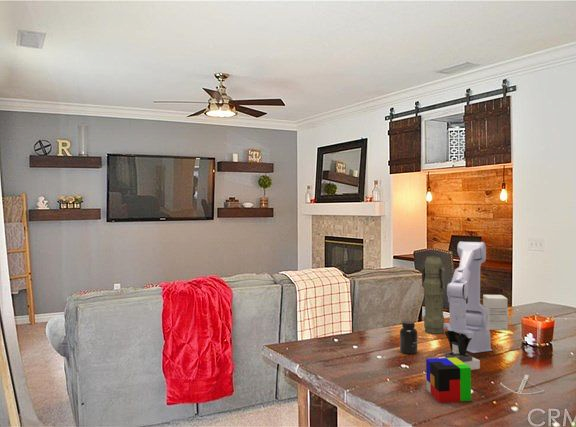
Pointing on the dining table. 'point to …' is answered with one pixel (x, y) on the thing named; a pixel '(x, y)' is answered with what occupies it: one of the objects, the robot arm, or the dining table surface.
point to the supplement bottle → (408, 338)
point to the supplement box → (496, 311)
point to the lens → (455, 349)
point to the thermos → (433, 294)
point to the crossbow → (522, 387)
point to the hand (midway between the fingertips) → (458, 352)
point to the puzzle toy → (448, 379)
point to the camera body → (466, 360)
